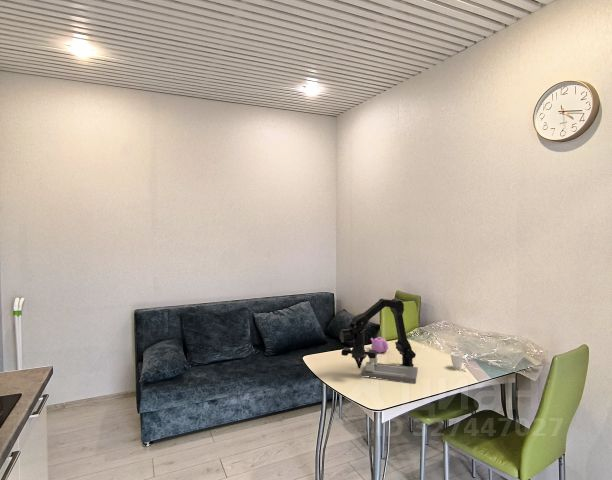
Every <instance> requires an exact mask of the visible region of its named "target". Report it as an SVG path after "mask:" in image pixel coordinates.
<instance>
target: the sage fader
mask: <svg viewBox="0 0 612 480" xmlns="http://www.w3.org/2000/svg"><path fill="white" fill-rule="evenodd" d="M365 365H366V371H370V372H373V371H374V363H373V362H369V361H366V362H365Z"/></svg>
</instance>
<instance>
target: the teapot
mask: <svg viewBox="0 0 612 480" xmlns="http://www.w3.org/2000/svg"><path fill="white" fill-rule="evenodd" d="M369 340H370V341H371V350H376V351H377V354H379V353H381V354H382V353H387V352H388V349H389V343H388V342H387V340H386V339H385V338H383V337H382V336H378V337H375V338H373V337H371V338H370V339H369Z"/></svg>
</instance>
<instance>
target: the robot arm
mask: <svg viewBox="0 0 612 480" xmlns="http://www.w3.org/2000/svg"><path fill="white" fill-rule="evenodd" d="M384 308H389V309H390V312H391V313H392V315H393V318H394V323H395V324H394V325H395V329H396V334H397V341H395V342H394V343H395V349H396V350H397V352H399V355H401V358H402V360H401V361H402V363H401V366H409V367H415V364H414V363H413V361H414V360H413V359H416V356H417V354H416V353H415V352H414V351H413V348H412V346H411V343H410V341H409V340H408V339H407V338H408V337H407V332H406V328H405V322H404V316H403V314H404V311H405V304H404V302H403V301H402V300H399V299H396V298H392V299H387V298H379V300H378V301H377V302H375V303H374V304H373V305H372V306H370V307H369V308H368V309H367V310H366V311H364V312H363V313H358V314H357V315H356V316H355V315H354V316H353V318H352V319H351V322H350V323H349V325H348V327H347V329H343V328H342V329H341V330H340V333H339V340H340V343H350V342H353V344H352V348H351V347H346V346H345V347H344V348H343V349H341V356H345V357H347V356H348V355H350V354H351V358H352V359H354V360H355V363H356V365H357V367H358V368H357V369H361V367H362V364H363V360H365V359H366V357H368V359H369V358H376V356H377V357H378V352H377V351H376V350H373V349H369V350H368V351H367V350H366V349H365V333H368V329H366V326H367V325H368V323H369V322H370V320H371V319H372V318H373V317H374V316H376V315H377V314H379V312H381V311H382V310H383V309H384Z"/></svg>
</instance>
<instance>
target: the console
mask: <svg viewBox="0 0 612 480" xmlns="http://www.w3.org/2000/svg"><path fill="white" fill-rule="evenodd" d="M418 368H419V367H416V366H413V367H409V366H402V365H397V364H391V363H390V364H389V363H380V362H379V363H378V362H377V365H374V371H373V372H370V371H366V364H365V366H364V367H363V369H362V372H361V377H362V376H369V377H376V378H382V379H381V380H383V379H388V380H387V381H391V380H395V381H394V382H399V381H403V382H402V383H408V382H413V383H412V384H416V383H417V378H418Z"/></svg>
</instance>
